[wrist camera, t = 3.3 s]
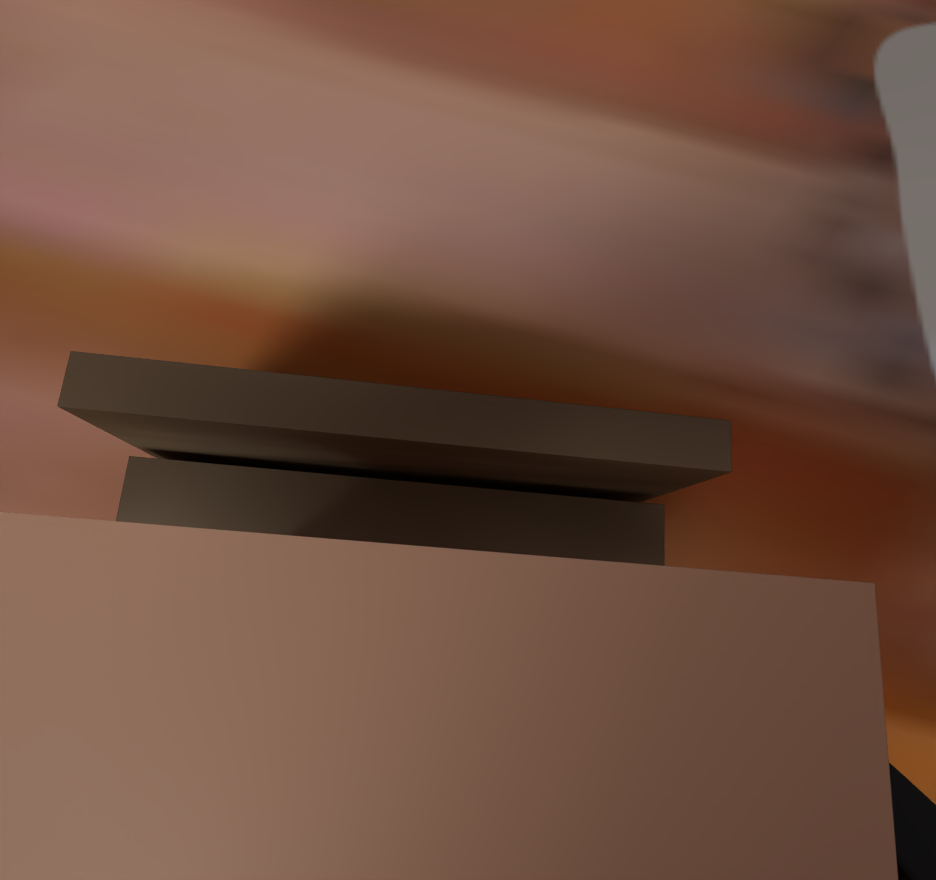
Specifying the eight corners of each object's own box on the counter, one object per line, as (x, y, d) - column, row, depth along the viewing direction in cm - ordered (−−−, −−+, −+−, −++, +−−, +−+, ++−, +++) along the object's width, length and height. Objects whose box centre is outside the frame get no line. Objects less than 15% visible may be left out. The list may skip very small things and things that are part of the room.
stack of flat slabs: (614, 825, 15) (745, 972, 10) (116, 805, 14) (-76, 958, 9) (620, 474, 18) (730, 420, 12) (185, 432, 16) (70, 350, 11)
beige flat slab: (511, 687, 15) (911, 1053, 3) (260, 672, 14) (-316, 1048, 3) (517, 582, 16) (874, 582, 4) (275, 564, 15) (-148, 500, 3)
